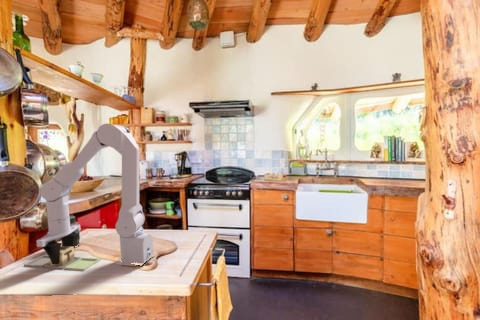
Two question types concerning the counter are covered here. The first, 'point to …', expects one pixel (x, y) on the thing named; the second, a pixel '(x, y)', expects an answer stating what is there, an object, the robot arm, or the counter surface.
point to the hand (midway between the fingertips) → (62, 259)
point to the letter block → (65, 256)
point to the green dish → (82, 264)
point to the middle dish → (60, 266)
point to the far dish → (39, 262)
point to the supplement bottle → (73, 222)
